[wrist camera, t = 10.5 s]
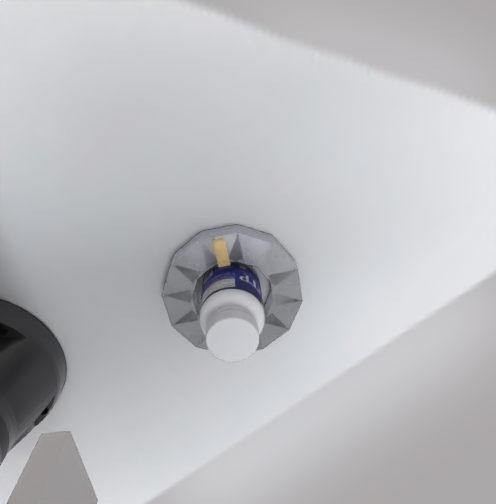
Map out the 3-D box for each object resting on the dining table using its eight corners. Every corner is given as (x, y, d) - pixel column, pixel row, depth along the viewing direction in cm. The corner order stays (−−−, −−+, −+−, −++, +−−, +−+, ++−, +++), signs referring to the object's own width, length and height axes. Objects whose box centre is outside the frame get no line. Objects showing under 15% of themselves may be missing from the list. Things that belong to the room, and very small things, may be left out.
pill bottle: (269, 293, 41) (280, 351, 33) (221, 317, 42) (220, 380, 34) (242, 248, 39) (246, 299, 31) (191, 274, 40) (183, 330, 32)
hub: (185, 350, 43) (182, 369, 41) (151, 241, 38) (146, 254, 36) (305, 328, 43) (310, 345, 40) (286, 214, 38) (291, 226, 35)
